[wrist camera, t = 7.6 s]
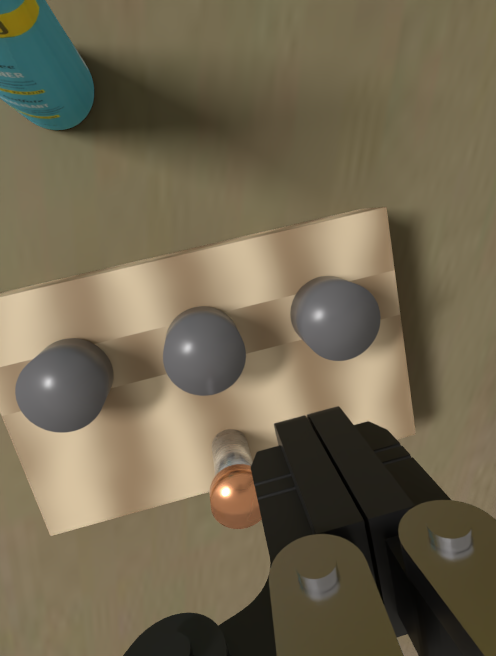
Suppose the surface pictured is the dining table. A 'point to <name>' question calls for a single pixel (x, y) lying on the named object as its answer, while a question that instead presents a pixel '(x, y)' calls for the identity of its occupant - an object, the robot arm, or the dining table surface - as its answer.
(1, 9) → the teal bottle
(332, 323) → the knob
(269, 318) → the panel
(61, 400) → the knob
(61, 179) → the dining table surface
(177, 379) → the knob middle
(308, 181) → the dining table surface
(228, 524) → the orange light bulb
